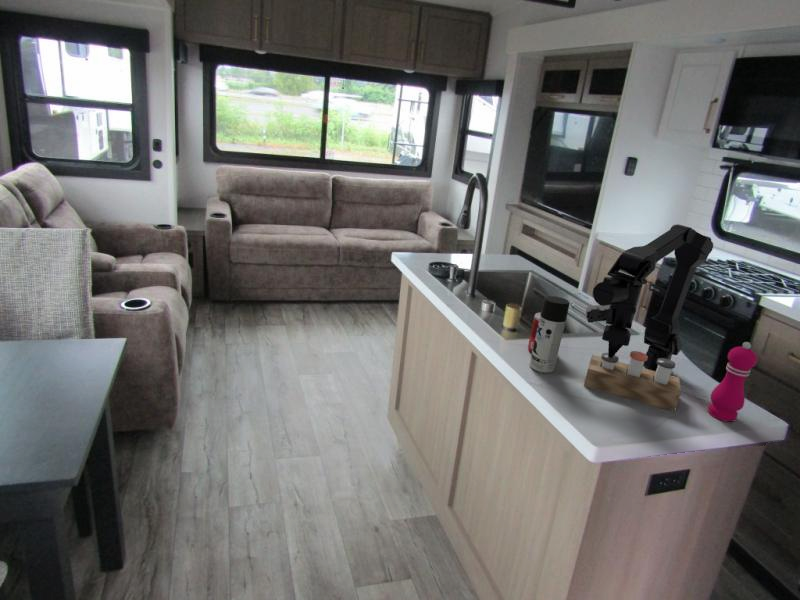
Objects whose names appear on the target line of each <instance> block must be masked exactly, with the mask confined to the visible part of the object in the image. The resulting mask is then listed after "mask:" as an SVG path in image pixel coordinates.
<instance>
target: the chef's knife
mask: <svg viewBox="0 0 800 600" xmlns="http://www.w3.org/2000/svg"><path fill="white" fill-rule="evenodd" d="M680 392H684V393H686V394H688V395H690V396H693V397H696V398H698V399H699V400H703V401H706V402H710V403H712V401H711V398H708V397H705V396H704V395H702V394H700V393H699V392H698V393H697V392H696V391H694V390H692V389H690V388H688V387H685V386H684V385H682V384H680Z"/></svg>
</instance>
